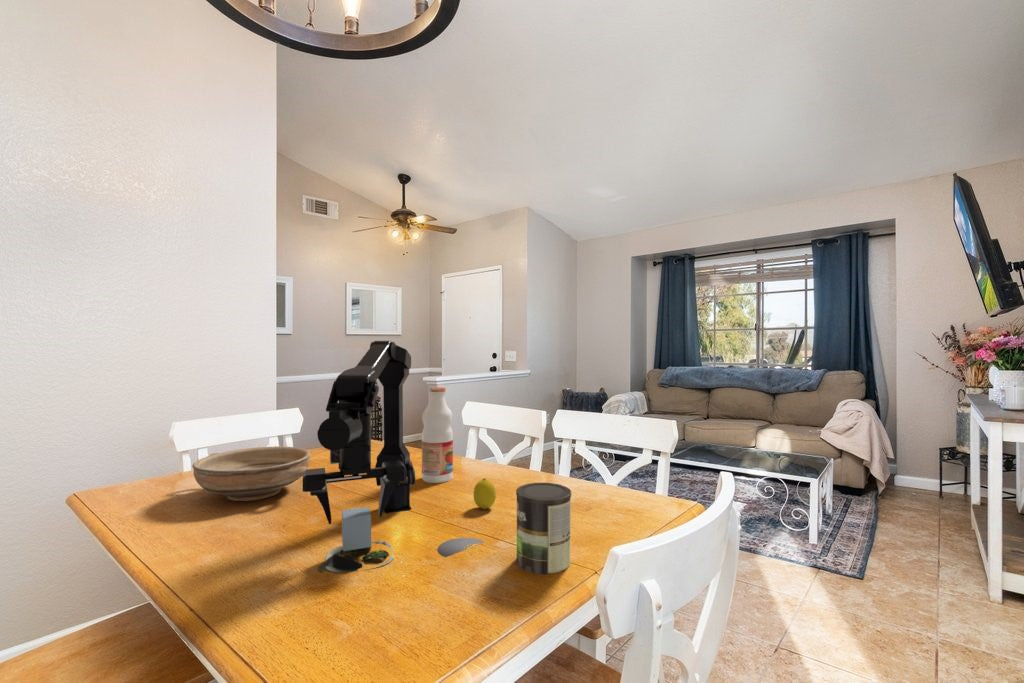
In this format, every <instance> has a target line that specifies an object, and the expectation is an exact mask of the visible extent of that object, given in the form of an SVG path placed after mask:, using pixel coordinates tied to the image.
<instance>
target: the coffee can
mask: <svg viewBox="0 0 1024 683" xmlns="http://www.w3.org/2000/svg"><path fill="white" fill-rule="evenodd" d="M515 494H516V565H517V566H518V567H519V568H520V569H521V570H523V571H525V570H526V571H525V572H527V571H528V573H530V572H532V573H531V574H535V573H536V574H537V573H538V574H537V575H553V574H552V573H555V574H558V573H557V572H559V573H562V572H564V571H565V570H567V569H568V568H570V566H571V505H572V504H571V499H572V498H571V497H572V490H571V489H570V488H569V487H567V486H565V485H563V484H558V483H552V482H531V483H526V484H523V485H521V486H519V487H517V488H516V489H515ZM563 570H564V571H563ZM561 571H562V572H561Z"/></svg>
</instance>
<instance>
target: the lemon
mask: <svg viewBox="0 0 1024 683" xmlns="http://www.w3.org/2000/svg"><path fill="white" fill-rule="evenodd" d="M496 494H497V490H496V488H495V485H494V483H493V482H492V481H491V480H489V479H487V478H486V477H483V478H482V479H481V480H479V481H477V483H476V484H475V486H474V489H473V500H474V503H475V505H476V506H477V507H478V508H480V509H482V510H488V509H489V508H491V507H492V506H493V505H494V503H495V501H496V499H497V498H496V497H497V495H496Z"/></svg>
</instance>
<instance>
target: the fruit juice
mask: <svg viewBox="0 0 1024 683" xmlns="http://www.w3.org/2000/svg"><path fill="white" fill-rule="evenodd" d="M428 391H429V392H428V393H429V394H430V397H429V401H428V404H427V407H426V408H425V409H424V411H423V412H422V415H421V416H422V419H421V420H422V424H423V429H422V432H421V479H422V481H423V482H425V483H429V484H440V483H441V484H442V483H447V482H449V481H451V480H453V477H454V476H453V475H454V432H453V428H452V422H453V412H452V411H451V409H450V407H449V406H448V404H447V401H446V398H445V394H446V391H447V390H446V387H445V386H434V387H433V386H432V387H429V390H428Z"/></svg>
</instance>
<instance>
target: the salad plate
mask: <svg viewBox="0 0 1024 683" xmlns="http://www.w3.org/2000/svg"><path fill="white" fill-rule="evenodd" d="M371 544H377V545H378V544H379V545H381V546H382V545H383V546H385V547H388V548H390V550H391V557H390V558H389V559H388V560H387V561H386V559H387V558H388V557H389V556H390V553H389V551H387V550H384V549H379V550H377V549H376V550H373V551H371V550H372V547H373V546H372V545H371V547H367V548H361V549H355V550H349V551H343V545H339V546H336V547H333V548H332V549H330V550H329V551H327V552H326V556H325V561H324V562H322V563H321V564H320V565H319V566H318V567H317V570H318V572H319V571H320V572H329V573H334V574H346V573H348V574H349V573H353V572H360V571H363V569H362V567H363V563H366V564H369V563H372V564H373V563H374V564H375V563H376V564H377V563H378V564H380V565H378V566H375V567H372V568H366V569H365V571H367V570H368V571H369V570H374V569H379V568H382V567H385V566H387V565H389V564H391V562H393V560H394V559H395V554H394V550H393V547H392V545H391V543H389V542H386V541H380V540H377V541H376V540H375V541H371ZM361 556H362V559H361V560H360V561H361V562H360V561H357V560H355V558H359V557H361ZM381 563H382V564H381Z"/></svg>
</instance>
